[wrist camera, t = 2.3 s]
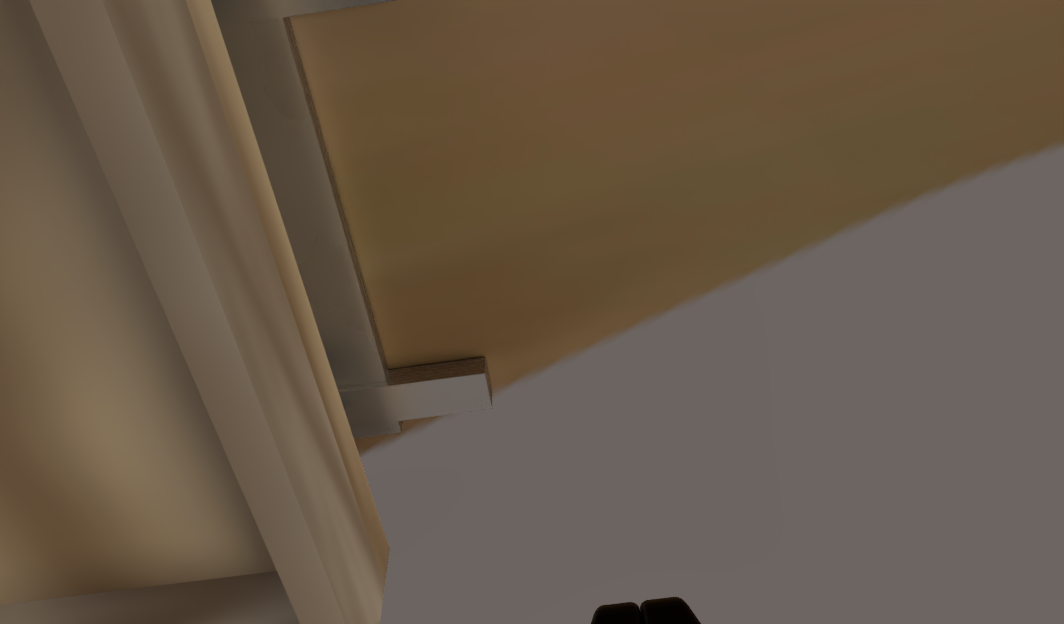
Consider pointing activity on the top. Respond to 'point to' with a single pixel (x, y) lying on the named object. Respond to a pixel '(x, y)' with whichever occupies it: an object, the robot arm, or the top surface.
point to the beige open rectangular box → (160, 344)
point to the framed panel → (329, 227)
